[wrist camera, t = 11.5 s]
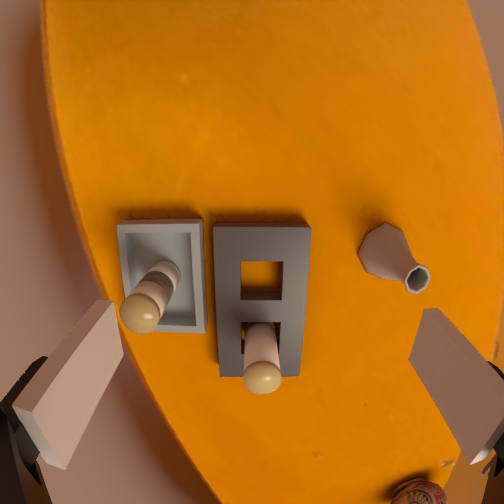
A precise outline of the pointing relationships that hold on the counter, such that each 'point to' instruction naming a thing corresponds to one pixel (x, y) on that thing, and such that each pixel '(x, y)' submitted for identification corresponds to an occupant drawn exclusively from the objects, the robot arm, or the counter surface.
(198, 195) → the counter surface
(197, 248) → the parts tray
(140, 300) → the cylinder
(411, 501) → the ceramic jug
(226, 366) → the block
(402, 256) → the flask
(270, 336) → the cylinder
